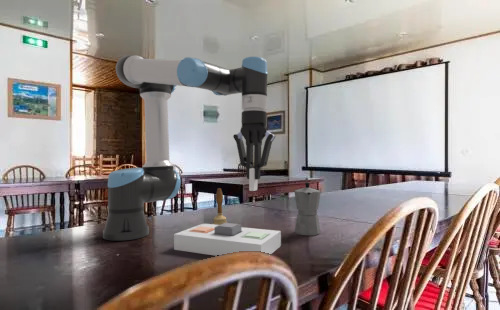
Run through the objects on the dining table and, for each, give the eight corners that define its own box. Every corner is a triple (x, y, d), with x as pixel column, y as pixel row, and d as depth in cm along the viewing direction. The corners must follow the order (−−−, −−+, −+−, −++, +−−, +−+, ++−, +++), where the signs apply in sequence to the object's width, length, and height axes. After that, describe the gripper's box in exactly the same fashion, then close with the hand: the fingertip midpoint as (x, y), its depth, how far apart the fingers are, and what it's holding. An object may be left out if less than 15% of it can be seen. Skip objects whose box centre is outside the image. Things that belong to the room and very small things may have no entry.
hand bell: (228, 235, 110) (227, 189, 110) (205, 234, 112) (205, 189, 112) (233, 230, 119) (233, 187, 119) (212, 229, 120) (212, 187, 120)
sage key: (241, 247, 91) (241, 235, 91) (250, 241, 96) (250, 231, 96) (261, 249, 88) (261, 237, 88) (268, 244, 94) (268, 232, 94)
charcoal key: (214, 237, 94) (214, 226, 94) (224, 232, 100) (224, 222, 100) (232, 239, 92) (232, 227, 92) (241, 234, 97) (241, 223, 97)
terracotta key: (189, 240, 98) (189, 229, 98) (200, 235, 103) (200, 225, 103) (206, 242, 96) (205, 231, 96) (216, 237, 101) (216, 227, 101)
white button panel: (174, 249, 94) (173, 234, 94) (203, 236, 109) (203, 223, 109) (261, 262, 83) (261, 244, 83) (280, 246, 97) (280, 231, 97)
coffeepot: (323, 237, 107) (323, 184, 107) (295, 236, 108) (295, 184, 108) (318, 227, 122) (317, 180, 122) (293, 226, 123) (293, 180, 123)
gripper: (228, 110, 93) (228, 190, 94) (270, 108, 88) (269, 193, 88) (240, 113, 100) (239, 187, 100) (279, 111, 95) (278, 190, 95)
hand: (253, 190), depth 94 cm, fingers closed
